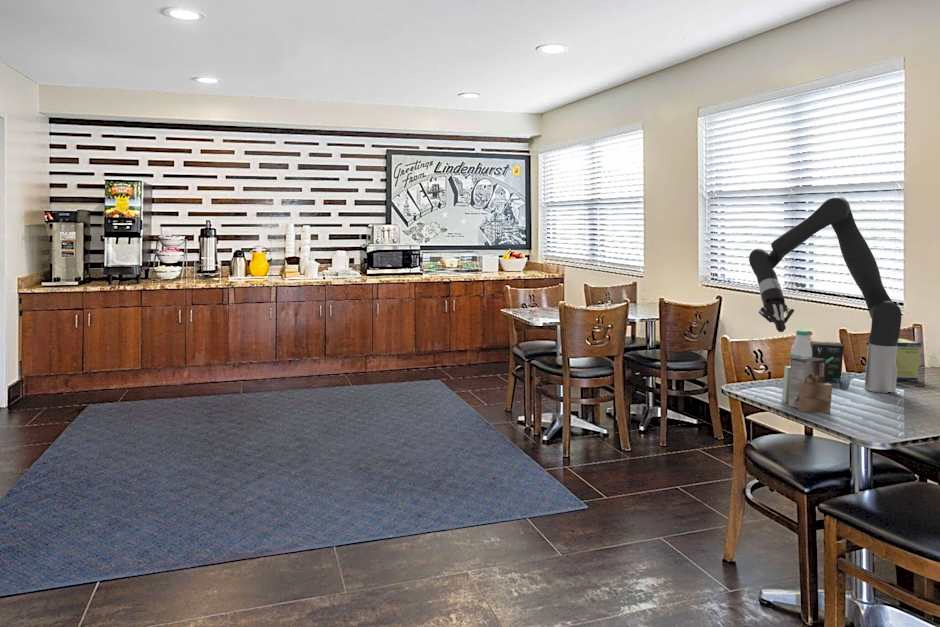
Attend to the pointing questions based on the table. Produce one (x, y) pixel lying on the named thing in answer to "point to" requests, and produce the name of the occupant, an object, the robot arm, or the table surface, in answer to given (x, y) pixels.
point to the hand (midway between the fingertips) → (781, 330)
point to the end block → (814, 397)
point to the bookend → (786, 383)
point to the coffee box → (805, 375)
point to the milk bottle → (801, 345)
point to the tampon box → (829, 358)
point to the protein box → (907, 359)
